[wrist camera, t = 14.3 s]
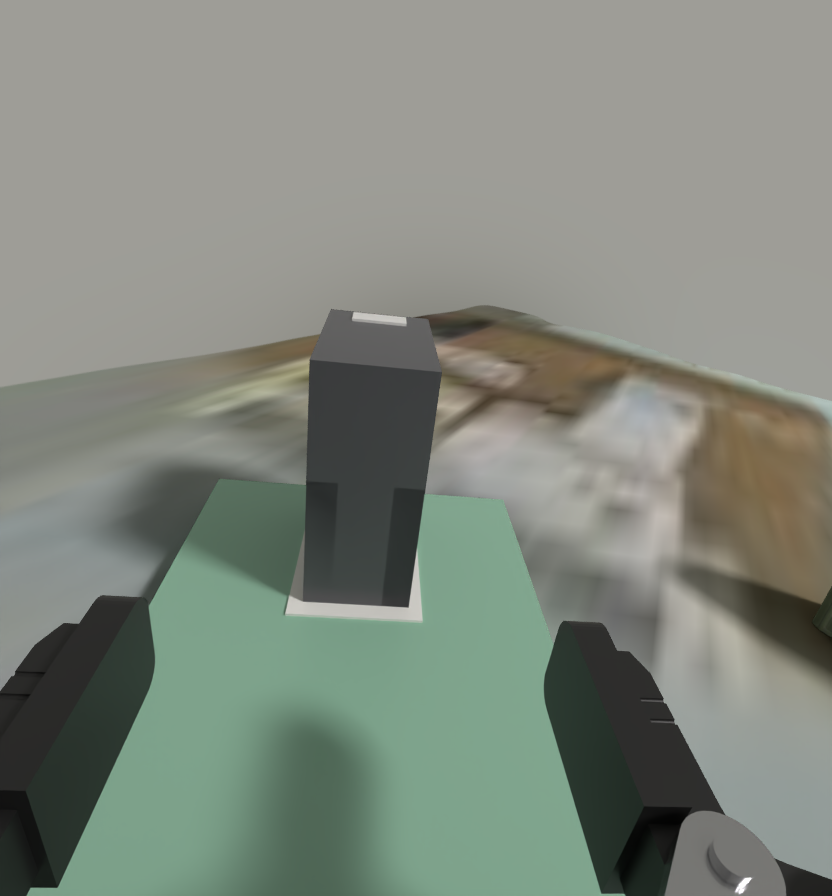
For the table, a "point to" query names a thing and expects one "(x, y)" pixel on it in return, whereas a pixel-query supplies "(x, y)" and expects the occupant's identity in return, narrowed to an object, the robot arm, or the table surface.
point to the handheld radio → (825, 615)
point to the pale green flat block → (339, 725)
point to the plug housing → (367, 456)
